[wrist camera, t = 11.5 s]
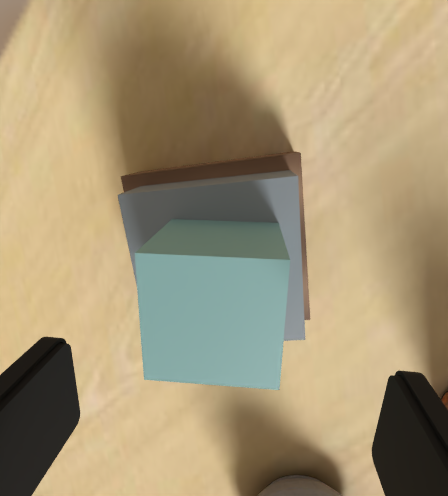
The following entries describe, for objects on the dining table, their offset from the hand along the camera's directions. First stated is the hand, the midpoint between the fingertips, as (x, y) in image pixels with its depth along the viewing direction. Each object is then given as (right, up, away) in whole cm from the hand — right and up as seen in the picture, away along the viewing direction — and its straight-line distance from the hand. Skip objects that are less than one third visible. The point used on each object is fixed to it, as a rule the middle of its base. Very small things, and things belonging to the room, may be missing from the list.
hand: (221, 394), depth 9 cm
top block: (0, +4, +13) cm, 14 cm away
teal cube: (0, +3, +9) cm, 10 cm away
